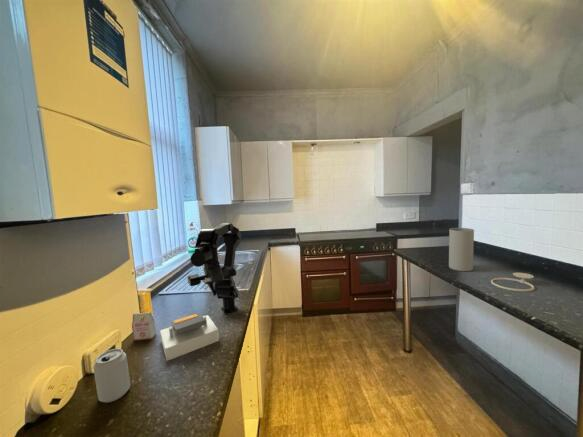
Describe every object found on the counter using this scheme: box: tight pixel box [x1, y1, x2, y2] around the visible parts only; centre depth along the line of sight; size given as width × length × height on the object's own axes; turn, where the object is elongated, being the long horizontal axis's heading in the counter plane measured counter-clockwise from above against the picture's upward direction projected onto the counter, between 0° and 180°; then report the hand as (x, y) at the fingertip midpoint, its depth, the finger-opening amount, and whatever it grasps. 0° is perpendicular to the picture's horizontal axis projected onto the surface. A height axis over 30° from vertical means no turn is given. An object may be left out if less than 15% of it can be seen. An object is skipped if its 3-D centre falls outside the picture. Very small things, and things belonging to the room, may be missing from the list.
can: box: [92, 348, 131, 403], centre depth 69 cm, size 8×8×12 cm
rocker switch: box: [170, 313, 206, 334], centre depth 93 cm, size 14×10×2 cm
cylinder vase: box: [448, 227, 475, 272], centre depth 153 cm, size 12×12×25 cm
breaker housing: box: [159, 314, 220, 362], centre depth 93 cm, size 14×18×8 cm
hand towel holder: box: [490, 272, 536, 293], centre depth 127 cm, size 17×4×21 cm
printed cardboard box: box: [131, 312, 157, 341], centre depth 98 cm, size 4×7×10 cm, turn 94°
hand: (214, 295), depth 103 cm, fingers closed
